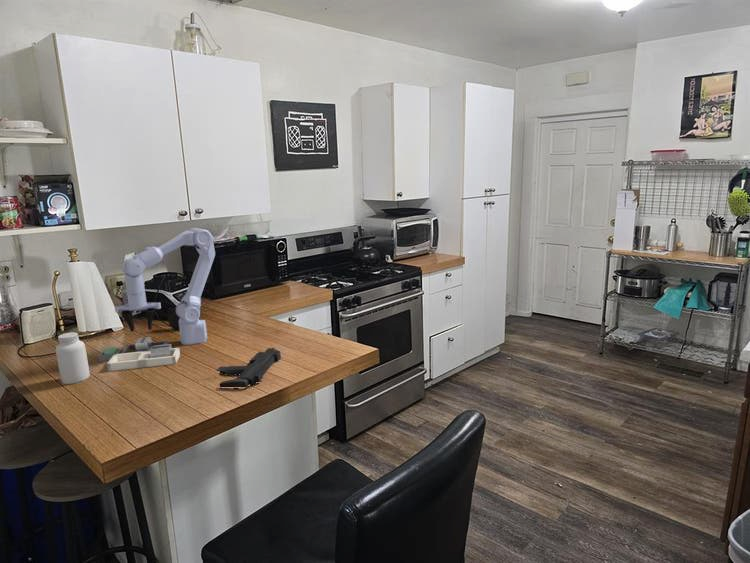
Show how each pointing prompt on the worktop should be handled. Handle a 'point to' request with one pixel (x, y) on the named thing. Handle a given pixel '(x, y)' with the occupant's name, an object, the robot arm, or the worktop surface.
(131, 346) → the tote
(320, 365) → the worktop surface
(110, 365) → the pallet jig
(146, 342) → the block
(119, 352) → the button housing
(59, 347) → the pill bottle
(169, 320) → the rock
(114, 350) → the button
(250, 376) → the firearm
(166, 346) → the seated billet
